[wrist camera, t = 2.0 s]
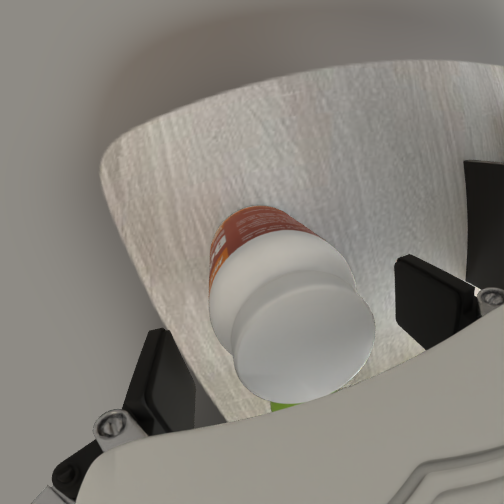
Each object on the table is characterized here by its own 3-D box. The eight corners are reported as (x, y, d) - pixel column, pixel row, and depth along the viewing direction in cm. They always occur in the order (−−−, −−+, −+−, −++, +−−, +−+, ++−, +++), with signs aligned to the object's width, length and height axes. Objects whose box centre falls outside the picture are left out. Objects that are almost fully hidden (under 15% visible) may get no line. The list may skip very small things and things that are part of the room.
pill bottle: (202, 212, 17) (184, 279, 7) (298, 198, 18) (402, 240, 7) (219, 301, 19) (228, 431, 9) (305, 285, 20) (383, 392, 9)
